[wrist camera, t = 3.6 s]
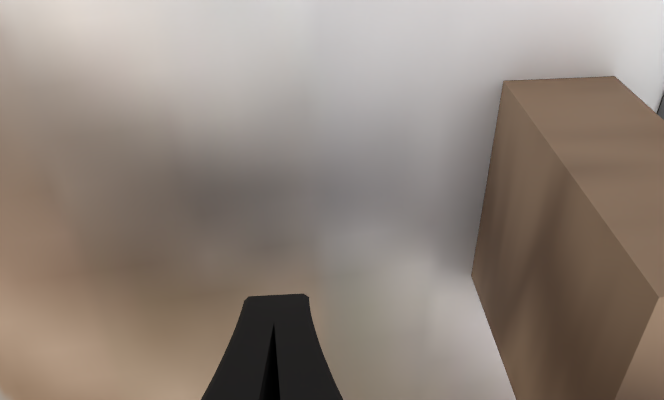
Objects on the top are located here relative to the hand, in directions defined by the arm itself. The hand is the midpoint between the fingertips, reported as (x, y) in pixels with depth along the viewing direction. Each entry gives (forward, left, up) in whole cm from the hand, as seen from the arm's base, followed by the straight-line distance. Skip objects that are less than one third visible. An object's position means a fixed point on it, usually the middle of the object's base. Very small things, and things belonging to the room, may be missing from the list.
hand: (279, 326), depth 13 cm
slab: (0, -8, -5) cm, 9 cm away
